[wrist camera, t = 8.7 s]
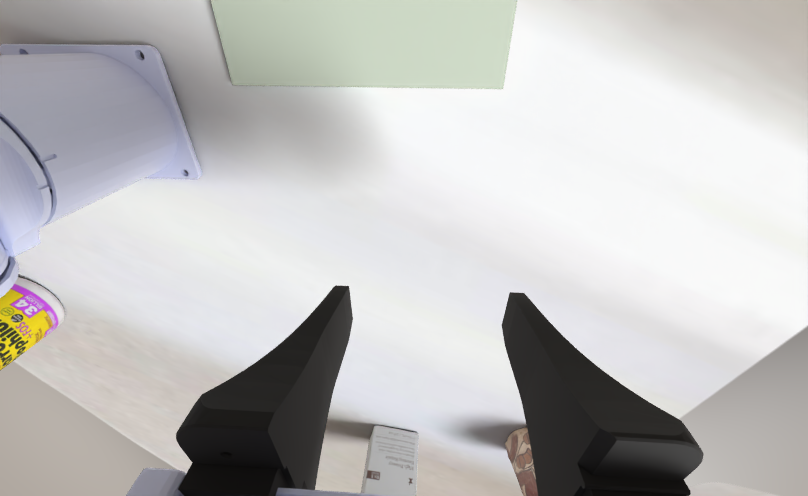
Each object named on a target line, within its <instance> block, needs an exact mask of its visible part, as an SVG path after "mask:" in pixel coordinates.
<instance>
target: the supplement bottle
mask: <svg viewBox="0 0 808 496" xmlns="http://www.w3.org/2000/svg"><path fill="white" fill-rule="evenodd" d="M64 318H65V311H64V308H63V306H62V304H61V303H60V301H59V300H58V299H57V298H56V297H55V296H54V295H53V294H52V293H51V292H49V291H48V290H47V289H45V288H43V287H42V286H40V285H38V284H36V283H34V282H32V281H29V280H26V279H23V278H20V277H18V278H17V280H16V281H15V283H14V285H13V286H12V287H11V289H10V290H9V291H8V292H7V293H6V294H5V295H4V296H2V297H1V298H0V370H2V369H3V368H4V367H6V366H7V365H8V364H10V363H11V362H12V361H14V360H15V359H16V358H17V357H19V356H20V355H21V354H23V353H24V352H25V351H27V350H28V349H29V348H31V347H32V346H33V345H35V344H36V343H37V342H39V341H40V340H41V339H42V338H44V337H45V336H46V335H48V334H49V333H50V332H52V331H53V330H54V329H55V328H57V327H58V326H59V325H60V324H61V323H62V322H63V321H64Z"/></svg>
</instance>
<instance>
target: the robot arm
mask: <svg viewBox="0 0 808 496" xmlns="http://www.w3.org/2000/svg"><path fill="white" fill-rule="evenodd" d="M26 51H27V52H28V54H27V52H26ZM140 51H141V52H142V53H143V54H144V59H143V58H142V57H141V55H140ZM0 53H1V55H0V298H1V297H2V296H4V295H5V294H6V293H7V292H8V291H9V290H10V289H11V287H12V286H13V285H14V283H15V281H16V280H17V278H18V273H19V266H18V262H17V261H16V259H15V256H17V255H19V254H21V253H23V252H25V251H27V250H29V249H31V248H33V247H35V246H36V245H38V244H40V243H41V242H40V238H39V230H40V228H41V227H43V226H45V225H47V224H50V223H52V222H54V221H56V220H58V219H60V218H62V217H64V216H66V215H68V214H70V213H72V212H75V211H77V210H79V209H81V208H83V207H85V206H87V205H89V204H91V203H93V202H95V201H97V200H100V199H102V198H104V197H106V196H108V195H110V194H112V193H114V192H116V191H118V190H120V189H122V188H125V187H127V186H129V185H131V184H133V183H135V182H137V181H139V180H141V179H143V178H152V179H190V180H195V179H198V178H200V177H201V176H202V171H201V168H200V165H199V163H198V160H197V157H196V154H195V151H194V148H193V146H192V143H191V140H190V137H189V134H188V131H187V129H186V126H185V123H184V120H183V117H182V114H181V112H180V109H179V106H178V103H177V100H176V97H175V95H174V92H173V89H172V86H171V83H170V81H169V78H168V75H167V72H166V69H165V66H164V64H163V61H162V58H161V55H160V53H159V51H158V50H157V49H156V48H155V47H153V46H151V45H91V44H1V45H0ZM185 170H187V171H188V173H189V174H187V173H186V172H185ZM352 320H353V317H352V308H351V300H350V291H349V286H335V287H333V289H332V290H331V291H330V292H329V294H328V295H327V296H326V297H325V299H324V300H323V301H322V302H321V303H320V304H319V306H318V307H317V308H316V309H315V310H314V311H313V312H312V313H311V315H310V316H309V317H308V318H307V319H306V320H305V321H304V322H303V323H302V324H301V325H300V326H299V327H298V328H297V329H296V330H295V331H294V332H293V333H292V334H291V335H290V336H289V337H287V338H286V339H285V340H284V341H283V342H282V343H281V344H279V345H278V346H277V347H276V348H275V349H273V350H272V351H271V352H269V353H268V354H267V355H265V356H264V357H263V358H261V359H260V360H259V361H257V362H256V363H255V364H253V365H252V366H250V367H249V368H247V369H246V370H244V371H242V372H241V373H239V374H238V375H236V376H234V377H233V378H231V379H229V380H228V381H226V382H224V383H222V384H220V385H219V386H217V387H215V388H213V389H211V390H210V391H208V392H206V393H204V394H202V395H201V397H200V398H199V399H198V401H197V402H196V403H195V405H194V406H193V408H192V409H191V411H190V412H189V414H188V416H187V417H186V419H185V420H184V422H183V423H182V425H181V427H180V428H179V430H178V431H177V433H176V439H177V442H178V444H179V446H180V447H181V448H182V450H183V451H184V452H185V453H186V455H187V456H188V457H189V459H190V460H191V461H192V462H193V463H192V465H191V467H190V468H189V470H188V472H187V474H186V473H185V472H183V471H180V470H175V469H160V468H145V469H143V471H142V472H141V473H140V475H139V477H138V478H137V480H136V481H135V483H134V484H133V486H132V487H131V489H130V490H129V492H128V493H127V495H126V496H392V495H378V494H363V493H349V492H334V491H320V490H315V485H316V478H317V472H318V466H319V460H320V455H321V449H322V443H323V438H324V433H325V428H326V422H327V417H328V412H329V408H330V403H331V398H332V393H333V390H334V386H335V382H336V379H337V376H338V373H339V370H340V366H341V363H342V360H343V357H344V354H345V351H346V347H347V344H348V341H349V336H350V331H351V326H352ZM502 329H503V336H504V341H505V347H506V350H507V354H508V357H509V360H510V364H511V367H512V370H513V373H514V377H515V380H516V383H517V386H518V390H519V393H520V397H521V400H522V404H523V409H524V414H525V419H526V424H527V430H528V435H529V441H530V446H531V452H532V459H533V465H534V471H535V477H536V485H537V492H538V496H689V495H690V490H689V488H688V486H687V485H686V483H685V481H684V479H685V478H686V477H687V476H688V475H689V474H690V473H691V472H692V471H693V470H695V469H696V468H697V467H698V466H699V464H700V463H701V462H702V459H703V452H702V450H701V448H699V445H698V444H697V442H696V441H695V439H694V438H693V437H692V435H691V433H690V432H689V431H688V429H687V428H686V427H685V425H684V424H683V423H682V421H681V420H679V419H677V418H675V417H674V416H672V415H670V414H668V413H667V412H665V411H663V410H661V409H660V408H658V407H656V406H654V405H653V404H651V403H649V402H648V401H646V400H645V399H643V398H641V397H640V396H638V395H637V394H635V393H634V392H632V391H631V390H629V389H628V388H626V387H625V386H623V385H622V384H620V383H619V382H617V381H616V380H615V379H613V378H612V377H611V376H609V375H608V374H607V373H605V372H604V371H602V370H601V369H600V368H599V367H597V366H596V365H595V364H594V363H592V362H591V361H590V360H589V359H588V358H586V357H585V356H584V355H583V354H582V353H580V352H579V351H578V350H577V349H576V348H575V347H574V346H573V345H572V344H571V343H570V342H569V341H568V340H566V339H565V338H564V337H563V336H562V335H561V334H560V333H559V332H558V331H557V330H556V328H555V327H554V326H553V325H552V324H551V323H550V322H549V321H548V320H547V319H546V318H545V317H544V315H543V314H542V313H541V312H540V311H539V310H538V309H537V307H536V306H535V305H534V304H533V303H532V302H531V301H530V299H529V298H528V297H527V296H526V295H525V294H524V293H510V294H509V298H508V302H507V306H506V310H505V314H504V319H503V323H502Z"/></svg>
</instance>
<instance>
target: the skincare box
mask: <svg viewBox="0 0 808 496" xmlns="http://www.w3.org/2000/svg"><path fill="white" fill-rule="evenodd" d="M418 439H419V435H418V433H414V432H409V431H404V430H400V429H395V428H389V427H384V426H374V429H373V432H372V435H371V438H370V440H369V445H368V451H367V458H366V464H365V470H364V476H363V482H362V489H361V493H363V494H378V495H392V496H416V491H417V463H418Z"/></svg>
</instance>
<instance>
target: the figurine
mask: <svg viewBox="0 0 808 496" xmlns="http://www.w3.org/2000/svg"><path fill="white" fill-rule="evenodd" d="M505 446H506V449H507V453H508V457H509V459H510V461H511V464H512V466H513V469H514V471H515V474H516V477H517V479H518V482H519V485H520V488H521V490H522V493H523V495H524V496H538V492H537V485H536V477H535V471H534V465H533V459H532V452H531V446H530V441H529V435H528V430H527V427H526V428H521V429H518V430H515V431H513V432H512V434H511V435H509V437H508V439H507V441H506V443H505Z"/></svg>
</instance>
